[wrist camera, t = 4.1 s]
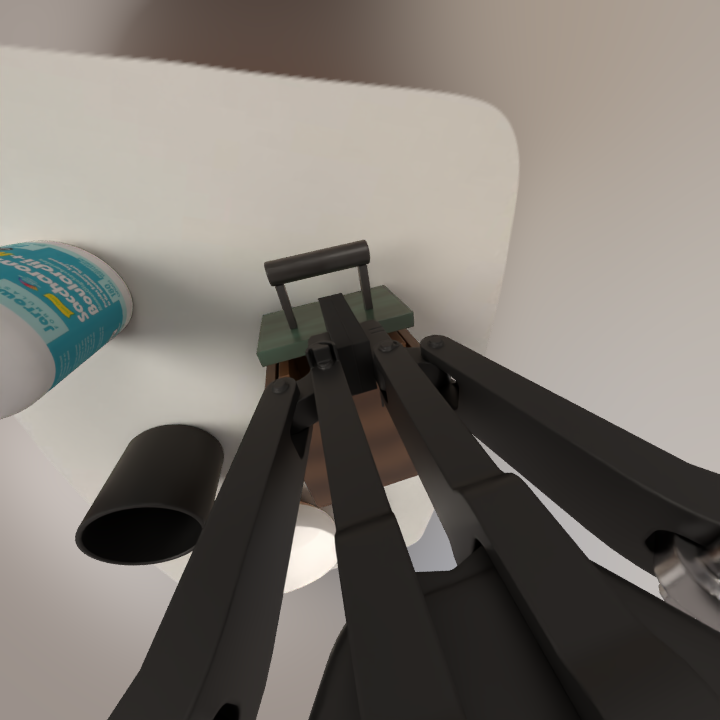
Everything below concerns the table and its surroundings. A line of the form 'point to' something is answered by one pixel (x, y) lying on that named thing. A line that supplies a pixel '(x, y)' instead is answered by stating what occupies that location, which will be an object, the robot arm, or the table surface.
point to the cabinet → (378, 432)
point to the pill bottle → (53, 316)
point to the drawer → (295, 325)
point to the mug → (154, 498)
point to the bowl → (311, 547)
